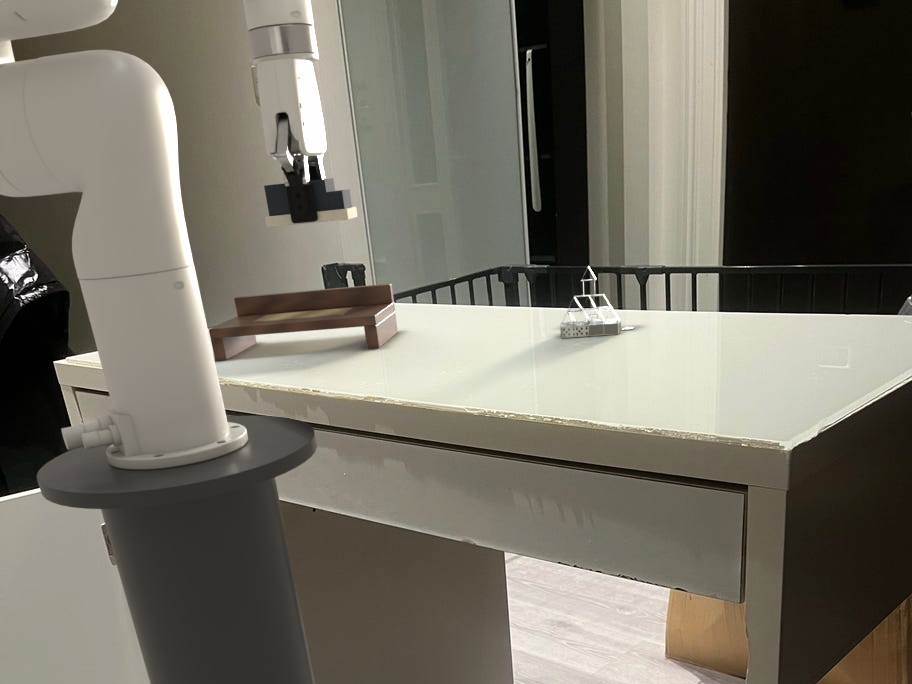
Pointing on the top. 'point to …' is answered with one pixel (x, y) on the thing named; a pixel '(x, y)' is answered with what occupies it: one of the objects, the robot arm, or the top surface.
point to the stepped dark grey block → (326, 198)
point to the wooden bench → (307, 316)
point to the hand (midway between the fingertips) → (311, 219)
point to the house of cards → (591, 326)
